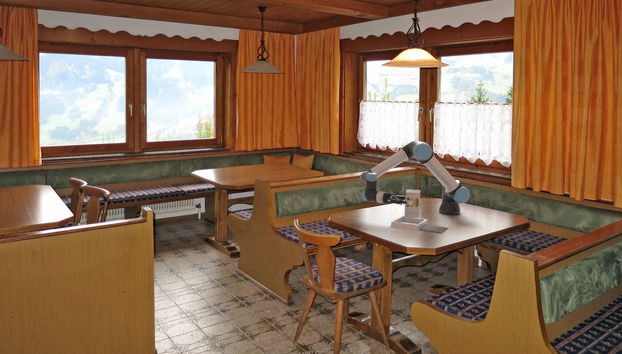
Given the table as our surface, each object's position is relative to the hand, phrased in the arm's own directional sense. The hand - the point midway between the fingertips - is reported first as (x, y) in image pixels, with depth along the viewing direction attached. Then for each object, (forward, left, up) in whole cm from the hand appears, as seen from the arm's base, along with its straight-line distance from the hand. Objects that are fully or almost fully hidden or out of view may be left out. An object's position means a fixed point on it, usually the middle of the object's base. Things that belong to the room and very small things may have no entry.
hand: (415, 201), depth 344 cm
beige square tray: (0, -4, -16) cm, 17 cm away
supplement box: (0, -2, -10) cm, 11 cm away
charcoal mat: (+1, +13, -16) cm, 21 cm away
